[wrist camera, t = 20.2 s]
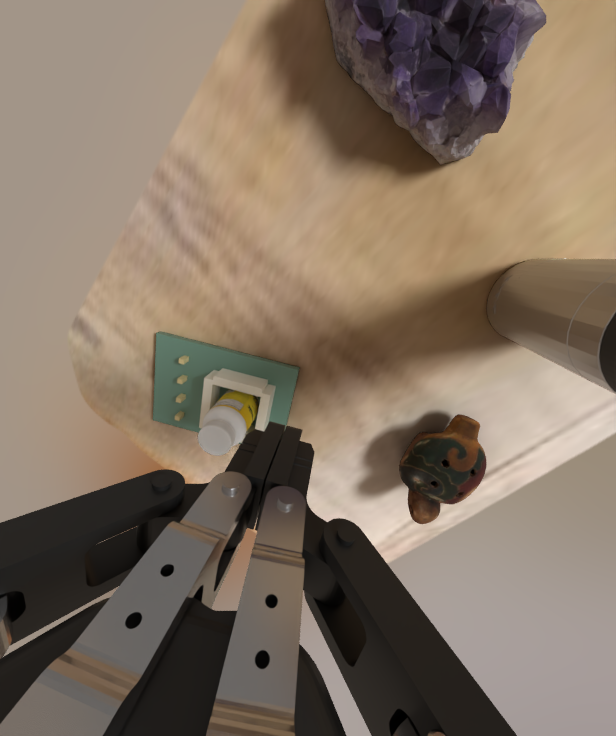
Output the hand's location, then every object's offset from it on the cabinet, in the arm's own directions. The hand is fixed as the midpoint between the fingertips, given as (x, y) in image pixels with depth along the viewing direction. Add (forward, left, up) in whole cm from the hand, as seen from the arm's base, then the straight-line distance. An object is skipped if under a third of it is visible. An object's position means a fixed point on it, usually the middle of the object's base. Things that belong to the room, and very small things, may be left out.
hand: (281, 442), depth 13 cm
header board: (+12, +14, -27) cm, 33 cm away
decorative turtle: (-19, +14, -27) cm, 36 cm away
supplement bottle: (+9, +14, -26) cm, 31 cm away
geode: (-2, -26, -27) cm, 38 cm away
